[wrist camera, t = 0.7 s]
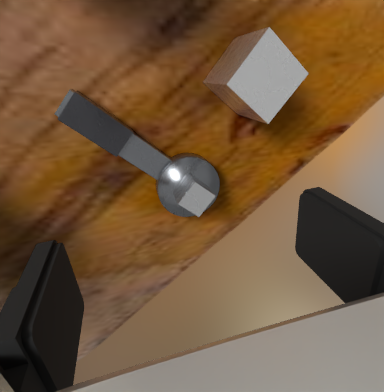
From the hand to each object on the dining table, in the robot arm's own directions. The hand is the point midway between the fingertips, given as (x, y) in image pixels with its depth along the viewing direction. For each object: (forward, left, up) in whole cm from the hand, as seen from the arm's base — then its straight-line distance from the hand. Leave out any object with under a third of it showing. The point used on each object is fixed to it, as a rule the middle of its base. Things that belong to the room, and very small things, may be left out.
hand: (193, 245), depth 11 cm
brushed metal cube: (-12, +6, -25) cm, 28 cm away
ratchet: (+2, +2, -25) cm, 25 cm away
